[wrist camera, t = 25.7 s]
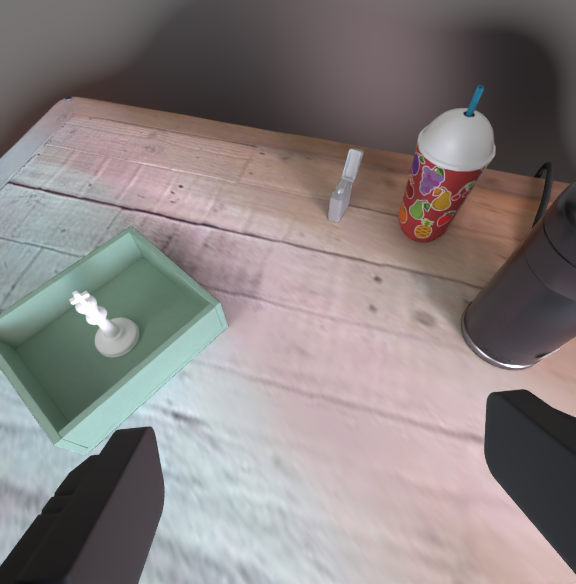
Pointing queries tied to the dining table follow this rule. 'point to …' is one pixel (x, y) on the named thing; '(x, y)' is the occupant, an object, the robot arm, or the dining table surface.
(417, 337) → the dining table surface
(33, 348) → the open box
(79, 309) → the chess piece
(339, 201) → the lighter
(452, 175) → the smoothie
